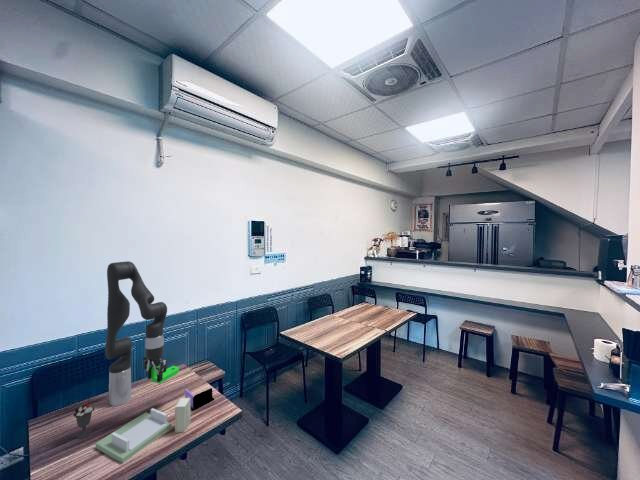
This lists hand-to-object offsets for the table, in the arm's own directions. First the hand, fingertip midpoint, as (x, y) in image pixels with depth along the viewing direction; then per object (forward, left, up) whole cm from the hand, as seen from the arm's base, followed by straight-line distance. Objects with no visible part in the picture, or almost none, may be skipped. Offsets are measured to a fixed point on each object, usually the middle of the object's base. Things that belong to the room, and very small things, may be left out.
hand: (154, 379), depth 123 cm
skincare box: (+19, 0, -18) cm, 26 cm away
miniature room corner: (+9, +17, -18) cm, 27 cm away
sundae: (-17, -20, -18) cm, 32 cm away
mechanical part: (0, +6, -2) cm, 7 cm away
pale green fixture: (+5, -12, -18) cm, 22 cm away
